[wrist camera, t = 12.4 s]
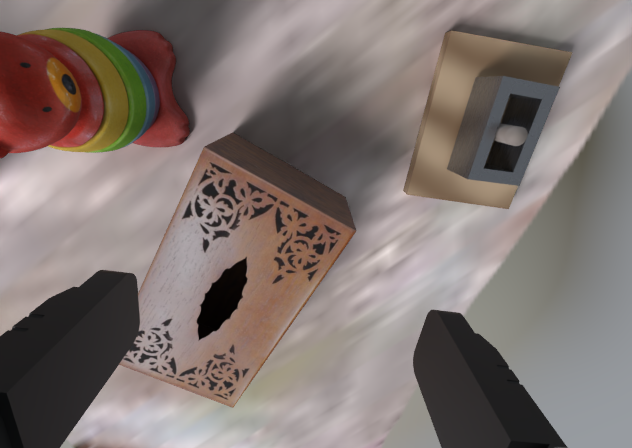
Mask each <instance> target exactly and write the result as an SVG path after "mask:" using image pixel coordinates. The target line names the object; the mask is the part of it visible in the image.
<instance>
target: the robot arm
mask: <svg viewBox="0 0 632 448" xmlns="http://www.w3.org/2000/svg"><path fill="white" fill-rule="evenodd" d="M139 327H140V313H139V301H138V288H137V279H136V276H135V275H134V274H133V273H124V272H116V271H107V270H100V271H98V272H97V273H95V274H94V275H93V276H92V277H90V278H89V279H88V280H87V281H86V282H84V283H83V284H82V285H81V286H80V287H72V288H70V289H68V290H66V291H64V292H62V293H59V294H57V295H55V296H53V297H51V298H49V299H48V300H46V301H45V302H44V303H42V304H41V305H40V306H39V307H37V308H36V309H35V310H33V311H32V312H31V313H30V315H29V317H25V318H23V319H22V320H21V321H19V322H18V323H17V324H16V325H14V326H13V328H12V330H11V331H9V330H8V331H7V332H5V333H4V334H3V335H2V336H0V448H60V447H61V445H62V444H63V442H64V441H65V440H66V438H67V437H68V435H69V434H70V432H71V431H72V430H73V428H74V427H75V425H76V424H77V423H78V421H79V420H80V418H81V417H82V416H83V414H84V413H85V411H86V410H87V409H88V407H89V406H90V404H91V403H92V402H93V400H94V399H95V397H96V396H97V394H98V393H99V392H100V390H101V389H102V387H103V386H104V385H105V383H106V382H107V380H108V379H109V378H110V376H111V375H112V373H113V372H114V371H115V369H116V368H117V366H118V365H119V363H120V362H121V361H122V359H123V358H124V356H125V355H126V354H127V352H128V351H129V349H130V348H131V347H132V345H133V343H134V342H135V340H136V337H137V335H138V331H139ZM413 366H414V373H415V376H416V379H417V382H418V384H419V387H420V390H421V393H422V395H423V398H424V401H425V403H426V406H427V409H428V412H429V414H430V417H431V420H432V422H433V425H434V428H435V431H436V433H437V436H438V439H439V442H440V444H441V447H442V448H567V446H566V445H565V444H564V442H563V441H562V439H561V438H560V437H559V435H558V434H557V432H556V431H555V430H554V428H553V427H552V426H551V424H550V423H549V421H548V420H547V419H546V417H545V416H544V414H543V413H542V412H541V410H540V409H539V408H538V406H537V405H536V403H535V402H534V401H533V399H532V398H531V396H530V395H529V394H528V392H527V391H526V390H525V388H524V387H523V385H520V384H519V380H518V378H517V377H516V376H515V374H514V373H513V371H512V370H510V369H509V366H508V364H507V363H506V362H505V360H504V359H503V358H502V356H501V355H500V353H499V352H498V351H497V349H496V348H495V347H493V346H492V345H491V344H490V343H489V342H488V341H487V340H485V339H484V338H483V337H482V336H481V335H479V334H476V333H474V331H473V330H472V328H471V327H470V325H469V324H468V322H467V321H466V319H465V318H464V317H463V315H462V314H460V313H456V312H448V311H439V310H431V311H430V312H429V313H428V314H427V317H426V320H425V323H424V325H423V328H422V331H421V334H420V337H419V340H418V343H417V345H416V348H415V351H414V357H413Z"/></svg>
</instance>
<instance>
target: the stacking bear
mask: <svg viewBox="0 0 632 448" xmlns="http://www.w3.org/2000/svg"><path fill="white" fill-rule="evenodd" d="M175 64H176V58H175V55H174V53H173V47H172V45H171V43H170V42H169V41H167V40H165V39H164V37H163V36H162V35H161V34H159V33H157V32H155V31H149V30H137V31H128V32H124V33H119V34H117V35H114V36H111V37H109V38H105V37H103V36H100V35H98V34H95V33H92V32H89V31H86V30H81V29H73V28H51V29H46V30H36V31H30V32H26V33H22V34H20V35H17V36H16V35H13V34H9V33H4V32H0V158H3V157H5V156H6V155H7V154H8V153H21V152H29V151H34V150H37V149H41V148H44V147H46V146H49V147H52V148H55V149H59V150H64V151H72V152H107V151H113V150H117V149H120V148H123V147H125V146H127V145H129V144H131V143H135V144H138V145H142V146H149V147H171V146H177V145H180V144H182V143H183V142H184V141H185V137H187V136H188V135H189V132H190V131H189V128H188V125H189V121H188V118H187V116H186V115H185V113H184V112H183V111H182V110H181V108H180V107H179V106H178V104H177V102H176V100H175V98H174V95H173V91H172V83H171V81H172V74H173V71H174V68H175Z"/></svg>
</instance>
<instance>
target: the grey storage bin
mask: <svg viewBox="0 0 632 448" xmlns="http://www.w3.org/2000/svg"><path fill="white" fill-rule="evenodd" d="M559 88H560V87H558V86H553V85H548V84H542V83H537V82H532V81H527V80H522V79H517V78H512V77H506V76H490V77H475V81H474V84H473V87H472V90H471V93H470V97H469V100H468V103H467V106H466V109H465V112H464V116H463V119H462V122H461V125H460V128H459V132H458V135H457V138H456V141H455V144H454V148H453V151H452V154H451V157H450V160H449V163H448V167H447V170H449V171H451V172H453V173H456V174H458V175H460V176H462V177H464V178H466V179H469V180H477V181H485V182H492V183H500V184H508V185H516V186H519V185H520V182H521V180H522V178H523V175H524V173H525V170H526V168H527V165H528V163H529V161H530V158H531V156H532V153H533V151H534V148H535V146H536V144H537V141H538V139H539V136H540V134H541V131H542V129H543V126H544V124H545V122H546V119H547V117H548V114H549V112H550V109H551V107H552V105H553V102H554V100H555V97H556V95H557V92H558V90H559ZM509 98H511V99H510V102H509V105H508V107H507V110H506V113H505V116H504V118H503V121H502V124H506V125H512V126H519V127H523V128H525V129H526V130H527V133H528V136H527V139H526V141H525V142H524V143H523V144H521V145H519V146H513V145H509V144H505V143H501V142H497V141H495V143H494V146H493V149H492V152H491V154H490V157H489V160H488V163H486V160H487V157H488V155H489V152H490V149H491V146H492V143H493V141H494V138H495V135H496V132H497V129H498V127H499V124H500V121H501V118H502V115H503V113H504V110H505V107H506V104H507V102H508V99H509Z"/></svg>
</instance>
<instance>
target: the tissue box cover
mask: <svg viewBox="0 0 632 448" xmlns="http://www.w3.org/2000/svg"><path fill="white" fill-rule="evenodd" d="M355 232H356V228H355V225H354V222H353V219H352V216H351V213H350V210H349V207H348V203H347V200H346V197H344V196H342V195H341V194H339V193H337V192H335V191H334V190H332V189H330V188H328V187H327V186H325V185H323V184H322V183H320V182H318V181H316V180H315V179H313V178H311V177H309V176H308V175H306V174H304V173H302V172H301V171H299V170H297V169H295V168H294V167H292V166H290V165H288V164H287V163H285V162H283V161H282V160H280V159H278V158H276V157H275V156H273V155H271V154H269V153H268V152H266V151H264V150H262V149H261V148H259V147H257V146H255V145H254V144H252V143H250V142H248V141H247V140H245V139H243V138H242V137H240V136H238V135H236V134H235V133H231V134H229V135H227V136H225V137H223V138H221V139H219V140H217V141H215V142H213V143H211V144H209V145H207V146H205V147H204V148H203V151H202V153H201V155H200V157H199V159H198V162H197V164H196V166H195V168H194V171H193V173H192V175H191V177H190V180H189V182H188V184H187V186H186V188H185V191H184V193H183V195H182V197H181V200H180V202H179V204H178V206H177V208H176V211H175V213H174V215H173V217H172V220H171V222H170V224H169V226H168V228H167V231H166V233H165V235H164V237H163V240H162V242H161V244H160V246H159V248H158V251H157V253H156V255H155V257H154V260H153V262H152V264H151V266H150V268H149V271H148V273H147V275H146V277H145V280H144V282H143V284H142V286H141V288H140V291H139V293H138V301H139V313H140V327H139V331H138V335H137V337H136V340H135V342H134V343H133V345H132V347H131V348H130V349H129V351H128V352H127V354H126V355H125V356H124V358H123V359H122V361H121V362H120V363H119V365H122V366H125V367H127V368H130V369H132V370H135V371H138V372H140V373H143V374H146V375H148V376H151V377H153V378H156V379H159V380H161V381H164V382H167V383H169V384H172V385H175V386H177V387H180V388H182V389H185V390H188V391H190V392H193V393H196V394H198V395H201V396H204V397H206V398H209V399H211V400H214V401H217V402H219V403H222V404H225V405H227V406H230V407H232V408H233V407H234V406H235V404H236V403H237V401H238V400H239V398H240V397H241V395H242V394H243V393H244V391H245V390H246V388H247V387H248V385H249V384H250V383H251V381H252V380H253V378H254V377H255V375H256V374H257V373H258V371H259V370H260V368H261V367H262V365H263V364H264V363H265V361H266V360H267V358H268V357H269V355H270V354H271V353H272V351H273V350H274V348H275V347H276V345H277V344H278V342H279V341H280V340H281V338H282V337H283V335H284V334H285V332H286V331H287V330H288V328H289V327H290V325H291V324H292V322H293V321H294V320H295V318H296V317H297V315H298V314H299V312H300V311H301V310H302V308H303V307H304V305H305V304H306V302H307V301H308V300H309V298H310V297H311V295H312V294H313V292H314V291H315V289H316V288H317V287H318V285H319V284H320V282H321V281H322V279H323V278H324V277H325V275H326V274H327V272H328V271H329V269H330V268H331V267H332V265H333V264H334V262H335V261H336V259H337V258H338V257H339V255H340V254H341V252H342V251H343V249H344V248H345V247H346V245H347V244H348V242H349V241H350V239H351V238H352V236H353V235H354V234H355ZM197 322H198V323H197ZM200 323H201V324H200ZM202 324H203V325H202ZM204 325H205V326H204ZM207 326H208V327H207ZM209 327H210V328H209ZM211 328H212V329H211ZM214 329H215V330H214ZM216 330H217V331H216Z"/></svg>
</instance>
